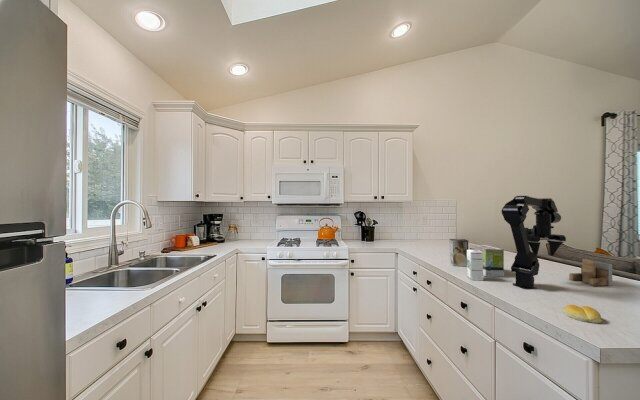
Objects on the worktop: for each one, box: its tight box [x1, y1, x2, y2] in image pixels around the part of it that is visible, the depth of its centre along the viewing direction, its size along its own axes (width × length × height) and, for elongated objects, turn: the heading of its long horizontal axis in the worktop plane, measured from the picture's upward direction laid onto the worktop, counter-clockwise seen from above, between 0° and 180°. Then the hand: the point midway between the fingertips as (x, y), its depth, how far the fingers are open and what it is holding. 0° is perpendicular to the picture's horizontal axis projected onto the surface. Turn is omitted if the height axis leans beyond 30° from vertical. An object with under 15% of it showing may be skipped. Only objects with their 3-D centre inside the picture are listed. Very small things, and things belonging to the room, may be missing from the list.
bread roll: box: [562, 304, 603, 324], centre depth 86 cm, size 8×9×4 cm
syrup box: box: [466, 249, 484, 282], centre depth 130 cm, size 6×6×14 cm
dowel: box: [581, 258, 596, 285], centre depth 123 cm, size 4×4×11 cm
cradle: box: [568, 264, 609, 287], centre depth 123 cm, size 9×10×7 cm
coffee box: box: [449, 238, 470, 267], centre depth 158 cm, size 9×6×16 cm
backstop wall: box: [595, 260, 613, 287], centre depth 124 cm, size 2×10×10 cm, turn 7°
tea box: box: [469, 244, 505, 278], centre depth 140 cm, size 15×10×15 cm
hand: (543, 255), depth 125 cm, fingers open, 9 cm apart
